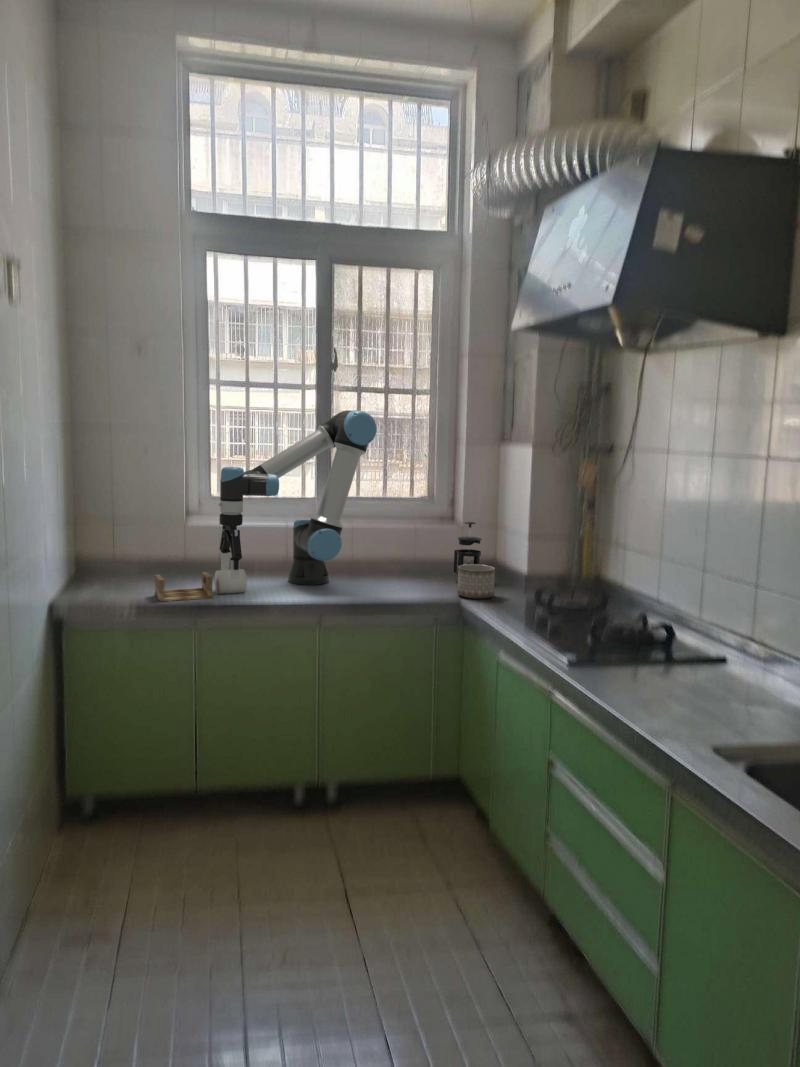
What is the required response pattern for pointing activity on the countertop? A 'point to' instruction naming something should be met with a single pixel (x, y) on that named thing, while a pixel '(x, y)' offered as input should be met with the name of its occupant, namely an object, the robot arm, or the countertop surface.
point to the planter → (476, 580)
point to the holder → (184, 590)
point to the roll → (230, 582)
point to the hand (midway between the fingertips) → (229, 575)
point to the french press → (466, 551)
